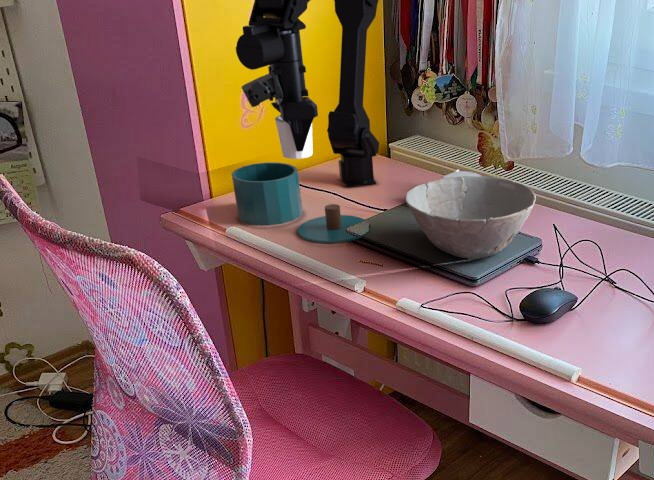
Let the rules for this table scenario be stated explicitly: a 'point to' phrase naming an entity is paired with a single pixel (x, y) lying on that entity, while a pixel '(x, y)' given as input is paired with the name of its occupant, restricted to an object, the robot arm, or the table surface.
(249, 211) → the canister
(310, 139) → the shot glass
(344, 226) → the lid
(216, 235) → the table surface
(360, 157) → the robot arm
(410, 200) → the ceramic bowl
